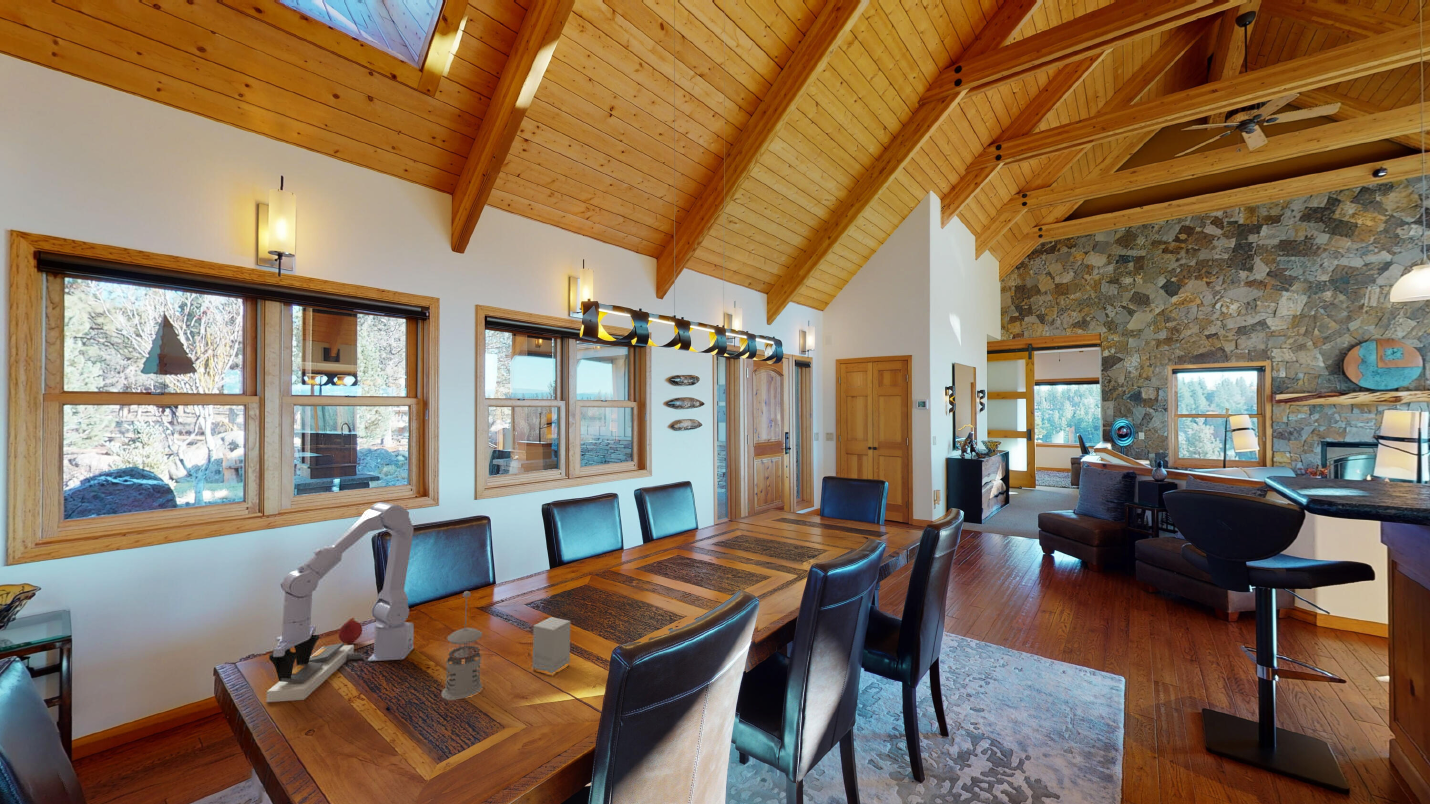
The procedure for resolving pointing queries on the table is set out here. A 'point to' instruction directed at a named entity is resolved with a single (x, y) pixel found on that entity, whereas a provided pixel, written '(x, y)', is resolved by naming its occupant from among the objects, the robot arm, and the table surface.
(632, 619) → the table surface
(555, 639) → the supplement box
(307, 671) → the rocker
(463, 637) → the french press
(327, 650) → the rocker
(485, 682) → the table surface
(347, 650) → the rocker switch panel
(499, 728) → the table surface
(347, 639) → the onion
